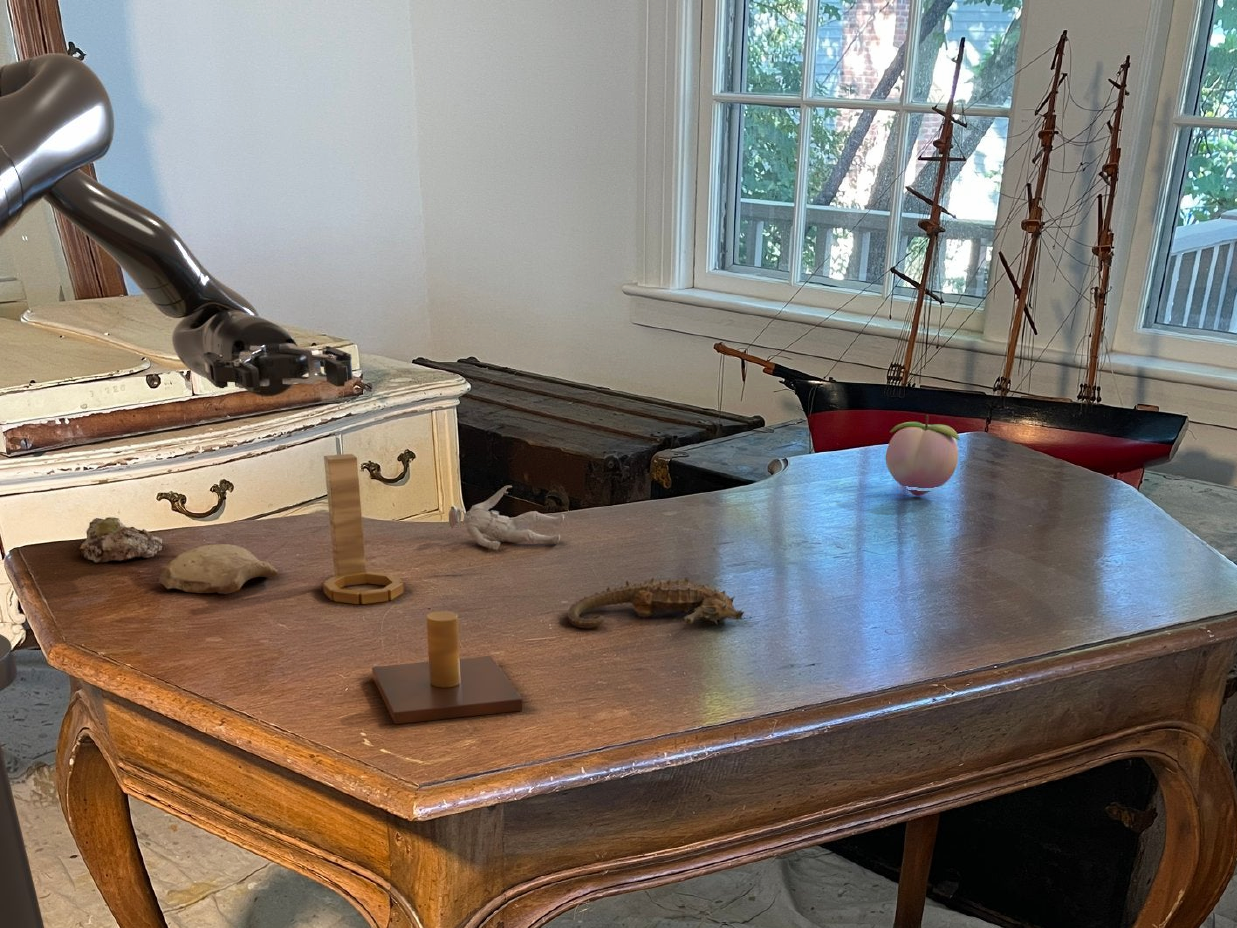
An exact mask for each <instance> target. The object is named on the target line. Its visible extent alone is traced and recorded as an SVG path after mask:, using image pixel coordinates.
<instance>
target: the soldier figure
mask: <svg viewBox="0 0 1237 928" xmlns="http://www.w3.org/2000/svg"><path fill="white" fill-rule="evenodd" d="M510 488H513V486H512V485H505V486H504V487H502V488H501V489H500V490H499V489H498V491H497V492H496V493H494V494H493V495H492V496H490V497H489V498H488V499H486V500H485V501H483V502H480V503H477V504H474V505H472V506H471V508H470V509H469V510H468V511H466V512H465V509H464V508H459V507H458V506H454V505H452V506H451V507H450V509H449V511H448V523H449V526H450V527H451V530H454V528H455V526H456V525H457V524H461V521H463V522H464V523H465V524H466V526H465V527H466V531H467V532H468V534H469V535H470V536H471V537H472V538H473V539H474V541H475V542H476V543H477V544H478V545H479V546H482V547H484V548H487V549H488V548H489V549H492V550H493V549H494V550H496V551H498V549H499V548H500V546H501V542H500V541H502V542H505V543H507V542H508V543H521V542H529V543H533V544H536V543H547V542H549V543H552V544H555V545H557V544H559V542H560V540H561V534H556V535H543V534H540V533H536V532H535V531H533V530H531V529H527V528H526V529H524V528H525V527H527V526H531V525H532V524H535V523H536V524H554V525H556V527H557V526H558V527H561V526H562V524H563V523H564V519H565V514H564V513H562V514H561V515H559V516H556V517H555V516H550V515H545V514H543V513H540V512H538V511H536V510H534V511H528V512H524V513H521V514H520V515H517V516H515V517H513V518H512V519H510V517H509V516H507V515H500V511H497V510H490V509H492V508H493V507H495V506H496V505H497V504H498V502H499V501H500V500H501V498H502V497H503V496H504V494H509V492H508V491H507V489H510ZM462 518H463V519H462ZM483 534H484V535H487V536H488V537H490V538H495V539H497V540H500V541H497V540H493V541H490V540H489V539H487V538H485V537H484V535H483Z"/></svg>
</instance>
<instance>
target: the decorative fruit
mask: <svg viewBox="0 0 1237 928" xmlns="http://www.w3.org/2000/svg"><path fill="white" fill-rule="evenodd" d="M929 419H930V418H929V415H928V414H927V415H925V423H924V424H923V423H921V422H919V421H907V422H903V423H899V424H897V425H895V426H894V427H893V428H892V429H891V430H890V431H889V433H893V432H895V431H897V432H896V433H894V435H893V436H892V437H891V438H890V441H889V442H888V445H887V449H886V452H885V464H886V467H887V470H888V472H889V474H890V475H891V477H892V478H893V479H894V481H896V482H897V484H898V485H900V486H901V485H902V486H901V487H903V486H908V487H918V488H934V487H939V486H940V487H942V486H944V484H946V483H948V481H949V480H950V479H951V478H952V477H953V475H954V473H955V472H956V469H957V466H958V461H959V445H958V442H957V441H961V439H960V436H959V434H958V432H957V431H955V429H954V428H952V427H951V426H949V425H947V424H940V423H937V424H929ZM940 487H939V488H940ZM904 489H905V490H907V491H908V492H910V493H911V494H912V495H914V496H916V497H920V496H923V495H925V494H928V493H929V492H931V491H917V490H908V489H906V488H904Z"/></svg>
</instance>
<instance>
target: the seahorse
mask: <svg viewBox="0 0 1237 928" xmlns="http://www.w3.org/2000/svg"><path fill="white" fill-rule="evenodd" d="M625 584H626V585H621V586H620V587H614V588H612V587H610V586H607V588H606V590H602V591H600V592H598V591H596V592H595V594H590V595H589V596H585V595H584V596H583V598H582V599H579V600H578V601H575V603H573V604H571V606H570V607H569V609H568V611H567V618H568V621H569V623H570V625H571V626H574V627H576V628H580V629H591V628H596V627H598V626H600V625H602V624H603V623H604V622H605V617H604V615H602V614H595V615H593V616H592V617H591V618H582V617H580V616H581V615H582V614H583V613H585V612H587V611H590V610H592V609H596V608H600V607H605V606H611V605H616V606H617V605H618V604H620V605H623V604H628V603H629V604H632V606H633V608H632V610H633V611H634V612H635V613H636V614H637V615H638V617H641V618H645V617H646V618H647V617H650V616H652V615H653V614H655V613H656V612H659V611H661V610H663V611H665V612H666V613H669V612H670V611H675V612H676V613H679V612H681V611H684V612H685V613H688V612H689V611H690V610H693V612H692V613H691V614H686V615H685V616H684V617H683V620H684V622H685V624H687V625H689V624H692V623H694V621H697V620H700V619H701V620H703V621H711V622H714V623H715V624H716V625H718V620H720V623H721V624H723V623H724V620H726V619H727V618H729V619H732V620H738V622H739V621H740V620H743V615H744V614H745V612H744V611H742V609H741V610H736V609H735V606H734V604H733V603H734V599H735V597H736V596H733V597H731V598H730V596H728V595H727V594H726V589H724V590H722V591H719V590H718V589H716V588H711V587H709V584H708V583H707V584H705V585H704V584H702V585H701V584H698V583H697V582H694V583H693V582H691V581H690V579H689V578H688V577H687V576H686V577H685V578H684V580H679V579H677V580H675V581H673V580H671V579H668V580H663V579H661V580H656V579H655V578H654V577H652V578H651V580H650V581H648V580H645V581H644V582H640V583H634V584H631V583H630V582H629V581H628V580H626V581H625Z"/></svg>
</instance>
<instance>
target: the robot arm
mask: <svg viewBox="0 0 1237 928" xmlns="http://www.w3.org/2000/svg"><path fill="white" fill-rule="evenodd" d="M114 115H115V114H114V109H113V105H112V102H111V97H110V96H109V93H108V91H107V88H106V87H105V85H104V84H103V82H102V81H101V80H100V78H99V77H98V75H97V74H96V73H95V71H93V70H92V68H91V67H89V66H88V65H87V64H86V63H84V62H83V61H82V60H80V59H78V58H77V57H74V56H72V55H69V54H66V53H61V52H60V53H59V52H58V53H56V52H48V53H43V54H39V55H36V56H33V57H29V58H24V59H22V60H18V61H14V62H11V63H9V64H4V65H1V66H0V239H1V238H2V237H3V236H4V235H6V233H8V232H9V231H10V230H11V229H12V228H13V227H15V225H17V223H18V222H19V221H20V220H21V219H22V218H24V216H25V215H26V214H27V213H29V212H30V211H31V210H32V209H33V208H34V207H35V206H36V205H38V203H40V202H41V201H42V200H44V201H46V203H47V204H49V205H50V206H51V207H53V208H54V209H55V210H56V211H57V212H58V213H59V214H61V215H62V216H63V217H64V218H65V219H67V220H68V221H69V222H70V223H72V224H73V225H74V226H75V227H76V228H78V229H79V230H80V231H81V232H83V233H84V234H85V235H86V236H88V237H89V238H90V239H91V240H92V241H93V242H94V243H95V244H97V245H98V246H99V247H100V248H102V250H104V251H105V252H106V253H107V254H108V255H109V256H110V258H112V259H113V260H114V261H115V262H116V264H117V265H119V267H121V269H122V270H123V271H124V272H125V273H126V274H127V276H128V277H129V278H130V279H131V280H132V281H133V283H134V284H135V285H136V286H137V287H138V288H139V290H140V292H142V293H143V294H144V295H145V297H147V299H148V300H149V301H150V302H151V304H152V305H153V306H154V307H155V308H156V309H157V310H158V311H159V312H160V313H162V314H163V315H165V316H166V317H168V318H172V319H181V320H180V321H179V322H178V323H176V326H175V327H174V329H173V331H172V335H171V342H172V347H173V350H174V352H175V354H176V356H177V358H178V359H179V360H180V361H181V363H182V364H183V365H184V366H185V367H186V368H187V369H188V370H190V371H191V372H193V373H194V374H197V375H198V376H200V377H202V378H204V379H207V380H208V381H209V382H210V384H212V385H213V386H215V388H218V389H225V388H228V387H229V383H234V387H236V388H238V389H245V390H246V391H248V392H249V393H251V394H253V395H255V396H259V397H266V398H267V397H269V398H271V397H276V396H279V395H281V394H283V393H285V392H287V391H288V390H289V389H290V388H291V387H292V386H293V385H295V384H302V385H311V386H312V385H317V384H321V383H322V382H327V383H329V384H331V385H333V386H335V387H337V388H338V387H340V388H341V387H345V384H346V383H348V382H349V381H352V380H354V373H353V364H352V357H353V356H352V354H351V353H349V352H347V351H344V350H341V349H339V348H336V347H333V346H330V345H326V346H323V347H322V350H321V352H322V353H320V351H319V349H318V348H314V347H306V346H305V347H304V346H299V345H298V344H297V342H296V341H295V339H294V338H293V336H292V335H291V334H290V333H289V332H288V331H287V330H286V329H284V328H283V326H280V325H278V324H276V323H274V322H272V321H270V320H267V319H265V318H264V317H261V316H260V315H259V313H258V311H257V309H256V308H255V306H254V305H253V304H252V303H251V302H250V301H249V300H248V299H247V298H245V297H244V296H243V295H242V294H241V293H239V292H237V291H236V290H235V289H233V288H232V287H229V286H228V285H226V284H225V283H223V282H222V281H220V280H219V279H217V278H216V277H215V276H214V275H213V274H211V273H210V271H208V270H207V268H205V266H204V265H203V264H202V263H201V262H200V260H199V259H198V258H197V257H196V256H195V254H194V253H193V252H192V250H191V249H190V248H189V247H188V244H186V243H185V241H184V240H183V239H182V237H181V236H180V235H179V233H177V231H176V230H175V229H174V228H173V227H172V226H171V225H170V224H168V223H167V222H166V221H165V220H164V218H163V219H162V218H161V217H160V216H159V215H158V214H156V213H154V212H153V211H151V210H150V209H148V208H146V207H145V206H143V205H140V204H139V203H137V202H135V201H133V200H131V199H129V198H128V197H126V196H124V195H122V194H120V193H118V192H116V191H114V190H112V189H110V188H109V187H107V186H105V185H103V184H102V183H101V182H98V181H97V180H96V179H94V178H93V177H91V176H89V175H88V174H87V173H85V172H84V171H83V170H81V169H82V168H84V167H86V166H88V165H90V164H92V163H95V162H97V161H100V160H101V159H103V157H105V156H106V155H107V153H108V152H109V150H110V149H111V146H112V143H113V141H114V137H115V116H114ZM322 368H323V372H322V370H321V369H322ZM307 374H308V376H306V375H307Z"/></svg>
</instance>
